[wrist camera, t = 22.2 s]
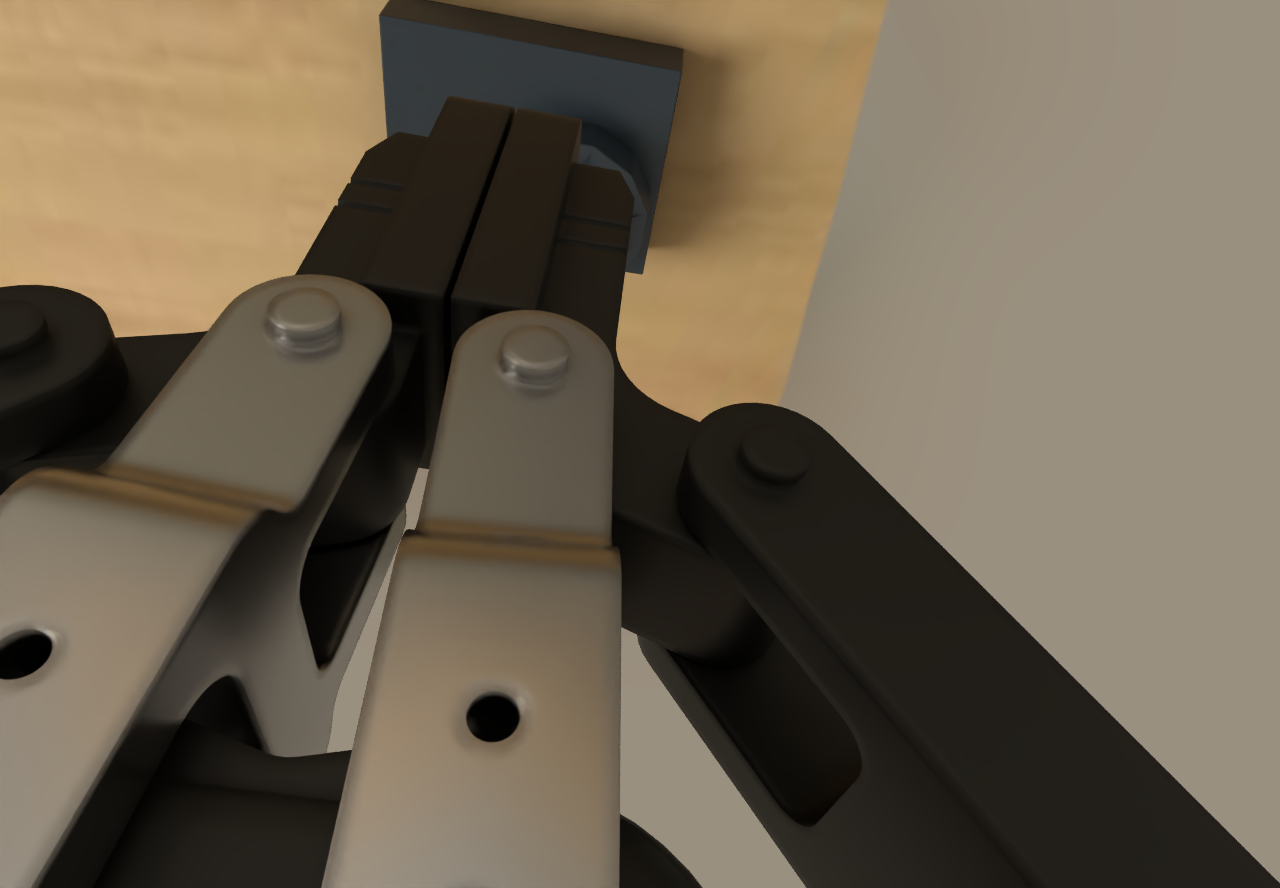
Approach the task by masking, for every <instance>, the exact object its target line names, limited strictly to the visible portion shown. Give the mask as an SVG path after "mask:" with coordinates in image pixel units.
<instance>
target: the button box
mask: <svg viewBox="0 0 1280 888" xmlns="http://www.w3.org/2000/svg"><path fill="white" fill-rule="evenodd" d="M379 22H380V37H381V52H382V67H383V82H384V97H385V112H386V127H387V138H389V137H390V136H392V135H393V134H395V133H397V132H403V133H409V134H414V135H420V136H425V137H428V136H429V134H430V132H431V130H432V128H433V126H434V124H435V122H436V120H437V118H438V116H439V114H440V112H441V110H442V108H443V106H444V103H445V101H446V100H447V98H448V97H449V96H456V97H462V98H467V99H473V100H478V101H484V102H489V103H495V104H500V105H506V106H511V107H514V108H515V112H517V110H518V108H523V109H529V110H534V111H540V112H545V113H551V114H556V115H562V116H567V117H573V118H578V119H582V130H581V141H580V150H579V159H578V164H584V165H589V166H595V167H600V168H606V169H612V170H617V171H620V172H621V174H622V176H623V178H624V180H625V181H626V183H627V185H628V187H629V189H630V191H631V193H632V194H633V196H634V198H635V200H634V207H633V215H632V223H631V229H630V238H629V245H628V252H627V261H626V268H625V272H630V273H636V274H643V270H644V265H645V260H646V255H647V249H648V244H649V239H650V234H651V229H652V224H653V219H654V213H655V208H656V203H657V198H658V193H659V188H660V183H661V177H662V172H663V167H664V162H665V157H666V152H667V147H668V141H669V136H670V131H671V126H672V121H673V116H674V111H675V105H676V100H677V95H678V90H679V85H680V80H681V75H682V65H683V49H680V48H675V47H669V46H664V45H659V44H654V43H648V42H643V41H638V40H633V39H627V38H622V37H617V36H611V35H606V34H601V33H596V32H590V31H585V30H580V29H575V28H569V27H564V26H559V25H553V24H548V23H543V22H538V21H532V20H527V19H522V18H517V17H511V16H506V15H501V14H495V13H490V12H485V11H480V10H474V9H469V8H464V7H459V6H453V5H448V4H443V3H437V2H432V1H427V0H389V2H388V3H387V5H386V6H385V7H384V9H383V10H382V12H381V13H380V14H379Z"/></svg>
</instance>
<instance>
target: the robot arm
mask: <svg viewBox="0 0 1280 888" xmlns="http://www.w3.org/2000/svg"><path fill="white" fill-rule="evenodd" d="M581 130H582V119H578V118H573V117H567V116H562V115H556V114H551V113H545V112H540V111H534V110H529V109H523V108H518V110H517V112H515V108H514V107H511V106H506V105H500V104H495V103H489V102H484V101H478V100H473V99H467V98H462V97H456V96H449V97H448V98H447V100H446V101H445V103H444V106H443V108H442V110H441V112H440V114H439V116H438V118H437V120H436V122H435V124H434V126H433V128H432V130H431V132H430V134H429V136H428V137H425V136H420V135H414V134H409V133H403V132H397V133H395V134H393V135H392V136H390V137H389V138H387V139H385V140H384V141H382V142H380V143H379V144H377V145H376V146H374V147H372V148H371V149H369V150H367V151H366V152H365V154H364V156H363V158H362V159H361V161H360V163H359V165H358V166H357V168H356V170H355V172H354V173H353V175H352V177H351V183H348V184H347V185H346V187H345V189H344V191H343V192H342V194H341V196H340V198H339V199H338V206H334V208H333V210H332V212H331V213H330V215H329V217H328V219H327V220H326V222H325V224H324V226H323V227H322V229H321V231H320V232H319V234H318V236H317V238H316V239H315V241H314V243H313V245H312V246H311V248H310V250H309V252H308V253H307V255H306V257H305V259H304V260H303V262H302V264H301V266H300V267H299V269H298V271H297V273H296V274H295V275H293V276H286V277H281V278H277V279H273V280H269V281H266V282H264V283H261V284H259V285H256V286H254V287H252V288H250V289H248V290H247V291H245V292H243V293H242V294H240V295H239V296H238V297H236V298H235V299H234V300H233V301H232V302H231V303H230V304H229V305H228V306H227V307H226V308H225V310H224V311H223V312H222V314H221V315H220V316H219V317H218V319H217V320H216V321H215V323H214V324H213V325H212V326H211V328H210V329H209V330H208V331H205V332H195V333H185V334H168V335H152V336H135V337H119V338H115V336H114V333H113V330H112V328H111V325H110V323H109V320H108V318H107V315H106V313H105V312H104V311H103V309H102V308H101V307H100V306H99V305H98V304H97V303H95V302H94V301H93V300H92V299H90V298H88V297H86V296H84V295H82V294H80V293H77V292H74V291H71V290H68V289H64V288H59V287H54V286H43V285H17V286H8V287H0V888H702V887H701V885H700V884H699V883H698V881H696V879H695V878H694V876H693V875H692V874H691V873H690V871H689V870H688V869H687V868H686V867H685V866H684V865H683V864H682V863H681V862H680V861H679V860H678V859H677V858H676V857H675V856H674V855H673V854H672V853H671V852H670V851H669V850H668V849H667V848H666V847H665V846H664V845H663V844H661V843H660V842H659V841H658V840H656V839H655V838H654V837H653V836H651V835H650V834H649V833H647V832H646V831H645V830H644V829H642V828H641V827H640V826H639V825H637V824H636V823H634V822H633V821H631V820H629V819H627V818H626V817H624V816H622V815H621V814H620V717H621V716H620V712H621V711H620V709H621V707H620V706H621V627H623V628H625V629H627V630H629V631H631V632H633V633H635V634H637V636H638V642H639V645H640V648H641V650H642V653H643V654H644V656H645V658H646V659H647V661H648V663H649V664H650V666H651V667H652V669H653V670H654V671H655V673H656V674H657V675H658V677H659V679H660V680H661V681H662V683H663V684H664V686H665V687H666V689H667V690H668V691H669V693H670V694H671V696H672V697H673V699H674V700H675V701H676V703H677V704H678V706H679V707H680V708H681V710H682V711H683V713H684V714H685V716H686V717H687V718H688V720H689V721H690V723H691V724H692V726H693V727H694V728H695V730H696V731H697V733H698V734H699V736H700V737H701V738H702V740H703V741H704V743H705V744H706V745H707V747H708V748H709V750H710V751H711V753H712V754H713V755H714V757H715V758H716V760H717V761H718V762H719V764H720V765H721V767H722V768H723V770H724V771H725V773H726V774H727V775H728V777H729V778H730V779H731V781H732V782H733V784H734V785H735V787H736V788H737V790H738V791H739V792H740V793H741V795H742V797H743V798H744V799H745V801H746V802H747V804H748V805H749V806H750V808H751V809H752V811H753V812H754V814H755V815H756V817H757V818H758V819H759V821H760V822H761V824H762V825H763V827H764V828H765V829H766V831H767V832H768V834H769V835H770V837H771V838H772V839H773V841H774V842H775V844H776V845H777V846H778V848H779V849H780V851H781V852H782V854H783V855H784V856H785V858H786V859H787V861H788V862H789V864H790V865H791V866H792V868H793V869H794V871H795V872H796V873H797V875H798V876H799V878H800V879H801V881H802V882H803V883H804V885H805V886H806V888H1280V883H1279V882H1278V881H1277V880H1276V879H1275V878H1274V877H1273V876H1272V875H1271V874H1270V873H1269V872H1268V871H1267V870H1266V869H1265V868H1264V867H1263V866H1262V865H1261V864H1260V863H1259V862H1258V861H1257V860H1256V859H1255V858H1254V857H1253V856H1252V855H1251V854H1250V853H1249V852H1248V851H1247V850H1246V849H1245V848H1244V847H1242V845H1241V844H1240V843H1239V842H1237V840H1236V839H1235V838H1234V837H1233V836H1232V835H1231V834H1230V833H1229V832H1228V831H1227V830H1226V829H1225V828H1224V827H1223V826H1222V825H1221V824H1220V823H1219V822H1218V821H1217V820H1216V819H1215V818H1214V817H1213V816H1212V815H1211V814H1210V813H1209V812H1208V811H1207V810H1206V809H1204V807H1203V806H1202V805H1201V804H1200V803H1199V802H1198V801H1197V800H1196V799H1195V798H1193V796H1192V795H1191V794H1190V793H1189V792H1188V791H1186V789H1185V788H1183V786H1182V785H1181V784H1180V783H1179V782H1178V781H1177V780H1176V779H1175V778H1174V777H1173V776H1172V775H1171V774H1170V773H1169V772H1168V771H1167V770H1166V769H1165V768H1164V767H1162V765H1161V764H1160V763H1159V762H1158V761H1156V759H1155V758H1154V757H1153V756H1151V755H1150V753H1149V752H1148V751H1147V750H1145V748H1144V747H1143V746H1142V745H1141V744H1140V743H1139V742H1137V740H1135V738H1133V736H1132V735H1130V733H1129V732H1128V731H1126V729H1124V727H1123V726H1122V725H1121V724H1119V722H1118V721H1116V719H1115V718H1113V716H1111V714H1110V713H1108V711H1107V710H1105V709H1104V707H1102V705H1101V704H1099V703H1098V702H1097V700H1095V698H1094V697H1093V696H1091V695H1090V693H1088V692H1087V690H1086V689H1084V687H1082V685H1081V684H1079V683H1078V682H1077V681H1076V680H1075V679H1074V678H1073V677H1072V676H1071V675H1070V674H1069V673H1068V672H1067V671H1066V670H1065V669H1064V668H1063V667H1062V666H1061V665H1060V664H1059V663H1058V662H1057V661H1056V660H1055V659H1054V658H1053V657H1052V656H1051V655H1050V654H1049V653H1048V652H1047V651H1046V650H1045V649H1044V648H1043V647H1042V646H1041V645H1040V644H1039V643H1038V642H1037V641H1036V640H1035V639H1034V638H1033V637H1032V636H1031V635H1030V634H1029V633H1028V632H1027V631H1026V630H1025V629H1024V628H1023V627H1022V626H1021V625H1020V624H1019V623H1018V622H1017V621H1016V620H1015V619H1014V618H1013V617H1012V616H1011V615H1010V614H1009V613H1008V612H1007V611H1006V610H1005V609H1004V608H1003V607H1002V606H1001V605H1000V604H999V603H998V602H997V601H996V600H995V599H994V598H993V597H992V596H991V595H990V594H989V593H988V592H987V591H986V590H985V589H984V588H983V587H982V586H981V585H980V584H979V583H978V582H977V581H976V580H975V579H974V578H973V577H972V576H971V575H970V574H969V573H968V572H967V571H966V570H965V569H964V568H963V567H962V566H961V565H960V564H959V563H958V562H957V561H956V560H955V559H954V558H953V557H952V556H951V555H950V554H949V553H948V552H947V551H946V550H945V549H944V548H943V547H942V546H941V545H940V544H939V543H938V542H937V541H936V540H935V539H934V538H933V537H932V536H931V535H930V534H929V533H928V532H927V531H926V530H925V529H924V528H923V527H922V526H921V525H920V524H919V523H918V522H917V521H916V520H915V519H914V518H913V517H912V516H911V515H910V514H909V513H908V512H907V511H906V510H905V509H904V508H903V507H902V506H901V505H900V504H899V503H898V502H897V501H896V500H895V499H894V498H893V497H892V496H891V495H890V494H889V493H888V492H887V491H886V490H885V489H884V488H883V487H882V486H881V485H880V484H879V483H878V482H877V481H876V480H875V479H874V478H873V477H872V476H871V475H870V474H869V473H868V472H867V471H866V470H865V469H864V468H863V467H862V466H861V465H860V464H859V463H858V462H857V461H856V460H855V459H854V458H853V457H852V456H851V455H850V454H849V453H848V452H847V451H846V450H845V449H844V448H843V447H842V446H841V445H840V444H839V443H838V442H837V441H836V440H835V439H834V438H833V437H832V436H831V435H830V434H829V433H828V432H826V431H825V430H824V429H823V428H822V427H821V426H819V425H818V424H816V423H815V422H813V421H812V420H810V419H808V418H807V417H805V416H803V415H801V414H799V413H797V412H794V411H791V410H789V409H786V408H782V407H779V406H775V405H771V404H763V403H740V404H733V405H729V406H726V407H723V408H720V409H718V410H716V411H714V412H712V413H710V414H709V415H708V416H706V417H705V418H704V419H703V420H702V421H701V422H698V421H696V420H694V419H691V418H689V417H687V416H684V415H682V414H680V413H677V412H675V411H673V410H670V409H668V408H666V407H664V406H662V405H660V404H658V403H657V402H655V401H654V400H652V399H651V398H649V397H648V396H646V395H645V394H644V393H643V392H641V391H640V390H639V389H638V388H637V387H636V386H635V385H634V384H633V383H632V382H631V381H630V380H629V378H628V377H627V375H626V374H625V372H624V371H623V369H622V367H621V365H620V363H619V360H618V357H617V352H616V337H617V329H618V322H619V314H620V306H621V299H622V291H623V283H624V276H625V268H626V261H627V252H628V245H629V238H630V229H631V223H632V215H633V207H634V200H635V198H634V196H633V194H632V193H631V191H630V189H629V187H628V185H627V183H626V181H625V180H624V178H623V176H622V174H621V172H620V171H617V170H612V169H606V168H600V167H595V166H589V165H584V164H578V159H579V150H580V141H581ZM418 468H425V469H429V472H428V476H427V481H426V486H425V491H424V495H423V500H422V505H421V510H420V514H419V519H418V523H417V525H416V528H415V530H411V529H408V530H406V531H405V533H404V534H403V532H404V528H405V525H406V506H405V505H406V503H407V500H408V498H409V495H410V491H411V489H412V485H413V483H414V480H415V476H416V473H417V470H418ZM402 535H403V536H402ZM401 537H402V538H401ZM400 540H401V541H400ZM399 542H400V544H399ZM398 545H399V547H398ZM397 547H398V550H397V554H396V557H395V561H394V565H393V570H392V574H391V579H390V583H389V587H388V592H387V596H386V601H385V606H384V610H383V614H382V619H381V623H380V628H379V632H378V637H377V642H376V646H375V650H374V655H373V659H372V663H371V668H370V673H369V677H368V681H367V686H366V690H365V695H364V699H363V704H362V708H361V713H360V717H359V721H358V726H357V731H356V735H355V739H354V744H353V748H352V750H348V751H340V752H332V753H326V752H327V748H328V744H329V739H330V734H331V728H332V718H333V710H334V705H335V701H336V697H337V693H338V690H339V687H340V684H341V681H342V679H343V676H344V673H345V671H346V669H347V666H348V664H349V661H350V659H351V657H352V654H353V652H354V650H355V647H356V645H357V642H358V640H359V638H360V635H361V633H362V631H363V628H364V626H365V623H366V621H367V619H368V616H369V614H370V611H371V609H372V607H373V604H374V602H375V599H376V597H377V595H378V592H379V590H380V588H381V585H382V583H383V580H384V578H385V576H386V573H387V571H388V568H389V566H390V564H391V561H392V559H393V556H394V554H395V552H396V549H397Z"/></svg>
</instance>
